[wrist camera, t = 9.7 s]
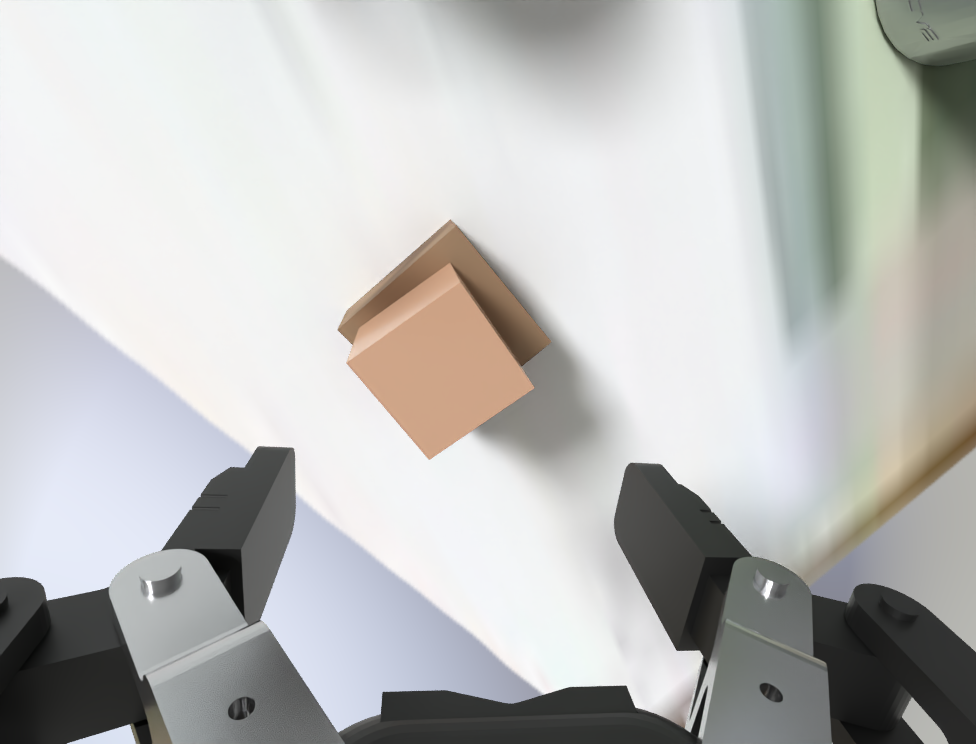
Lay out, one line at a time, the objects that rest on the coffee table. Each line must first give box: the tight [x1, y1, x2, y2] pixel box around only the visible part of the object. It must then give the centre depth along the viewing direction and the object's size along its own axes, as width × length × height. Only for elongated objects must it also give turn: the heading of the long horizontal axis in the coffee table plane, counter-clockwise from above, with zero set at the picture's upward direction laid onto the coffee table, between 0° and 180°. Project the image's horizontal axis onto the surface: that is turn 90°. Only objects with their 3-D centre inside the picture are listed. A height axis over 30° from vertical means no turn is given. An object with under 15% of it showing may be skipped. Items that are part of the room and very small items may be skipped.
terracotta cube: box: [346, 263, 534, 460], centre depth 22 cm, size 5×5×5 cm
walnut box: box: [338, 220, 551, 366], centre depth 26 cm, size 7×7×4 cm
